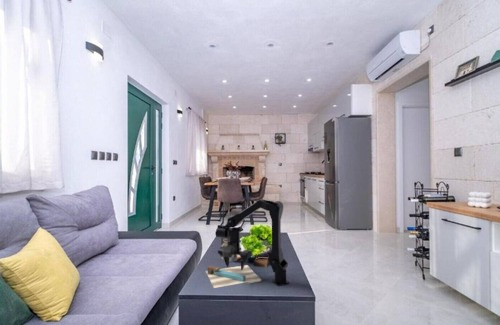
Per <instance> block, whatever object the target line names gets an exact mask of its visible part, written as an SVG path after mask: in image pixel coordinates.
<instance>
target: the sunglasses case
mask: <svg viewBox="0 0 500 325" xmlns="http://www.w3.org/2000/svg"><path fill="white" fill-rule="evenodd" d="M268 265H269V261H268V257H258V258H257V257H256V258H255V260H254V261H253V266H254V267H256V268H257V267H259V268H268Z"/></svg>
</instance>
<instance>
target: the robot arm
mask: <svg viewBox="0 0 500 325" xmlns="http://www.w3.org/2000/svg"><path fill="white" fill-rule="evenodd" d="M259 209H263V210H265V211H267V212H268V213H269V217H270V219H271V249H270V250H269V251H267V255H268V261H269V263H268V265H269V266H270V267H271V270H272V272H273V273H274V278H273V279H271V281H272V283H274V284H275V285H276V286H283V285H288V284H290V282H289V281H288V280H287V268H288V265H289V263H288V262H287V260H286V259H285V257H284V253H283V250H282V246H281V245H282V244H281V243H282V242H281V240H282V238H281V236H282V235H281V231H282V230H281V227H282V226H281V220H282V216H283V211H284V204H283V203H282V201H281V200H275V201H272V200H267V199H263V198H259V199H257V200H256V201H255V202H253V203H252V204H251V205H249V206H247V207H246V208H245V209H243V210H242V211H240V212H239V213H236V214H233V215H231V216H229V217H228V218H227V220H226V223H225V225H223V224H217V227H216V230H215V237H216V238H220V239H221V238H228V237H229V241H228V243H227V246H223V247H218V248H217V255H219V256H222V257H223V258H224V262H225V266H226V268H229V266H230V261H229V258H230V257H232V255H235V254H237V256H239V260H240V266H241V270H243V268H244V265H246V263H247V260H248V259H250V258H252V256H253V252H252V250H249V249H245V250H242V247H241V243H242V240H241V239H240V238H241V234H240V233H242V232H243V231H244V228H243V227H241V226H239V225H241V224H242V223H243V222H244V221H245V219H246V218H247V217H249V216H251V215H253V213H255V212H256V211H258V210H259ZM237 226H238V227H237Z"/></svg>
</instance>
